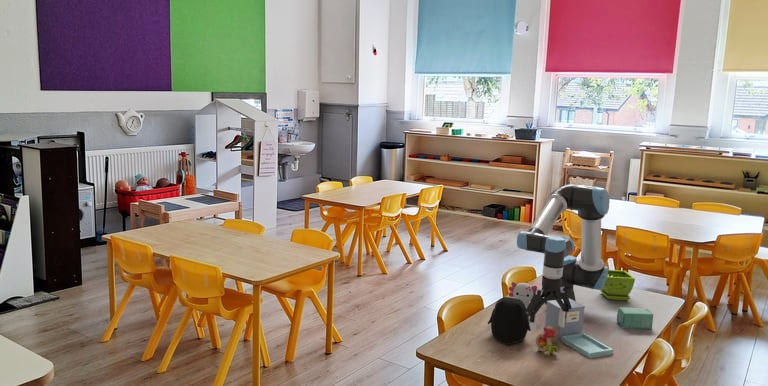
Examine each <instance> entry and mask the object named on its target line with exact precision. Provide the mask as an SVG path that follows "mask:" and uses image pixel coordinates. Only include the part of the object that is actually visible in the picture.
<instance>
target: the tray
mask: <svg viewBox="0 0 768 386" xmlns="http://www.w3.org/2000/svg"><path fill="white" fill-rule="evenodd" d="M560 339H561V341H560V342H561V343H563V344H565V345H567V346H568V347H570V348H572V349H573V350H575V351H576V352H578V353H580V354H581V355H584V356H585V357H586V358H588V359H593V358H598V357H603V356H609V355H613V354H614V353H613V352H614V349H613V348H612V347H610V346H608V345H606V344H604V343H603V342H601V341H599V340H598V339H595V338H594V337H593V336H591V335H588V334H587V333H585V332H582V333H581V334H575V335H568V336H561V338H560Z"/></svg>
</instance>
